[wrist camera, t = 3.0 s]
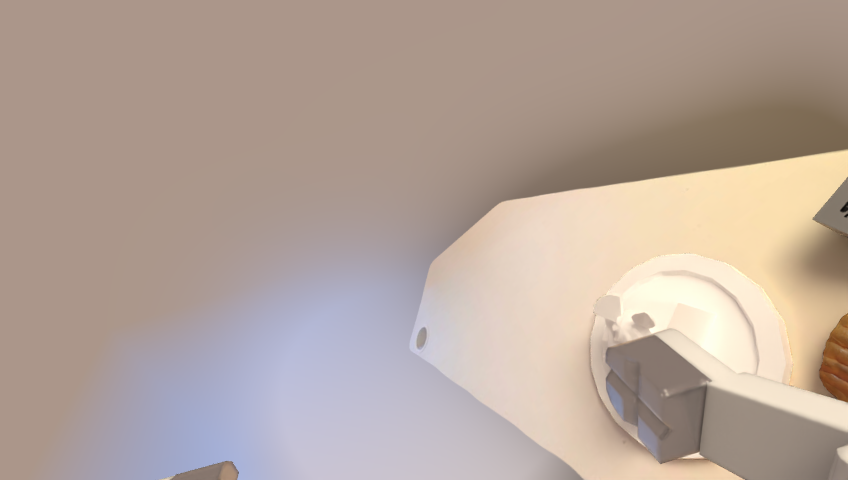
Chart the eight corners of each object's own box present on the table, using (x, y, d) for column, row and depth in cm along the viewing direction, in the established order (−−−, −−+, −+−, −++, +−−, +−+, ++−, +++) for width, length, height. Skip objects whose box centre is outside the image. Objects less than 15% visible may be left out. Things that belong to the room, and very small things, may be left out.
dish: (604, 263, 67) (550, 244, 63) (793, 247, 44) (729, 216, 40) (587, 423, 62) (527, 415, 57) (792, 498, 39) (718, 493, 35)
